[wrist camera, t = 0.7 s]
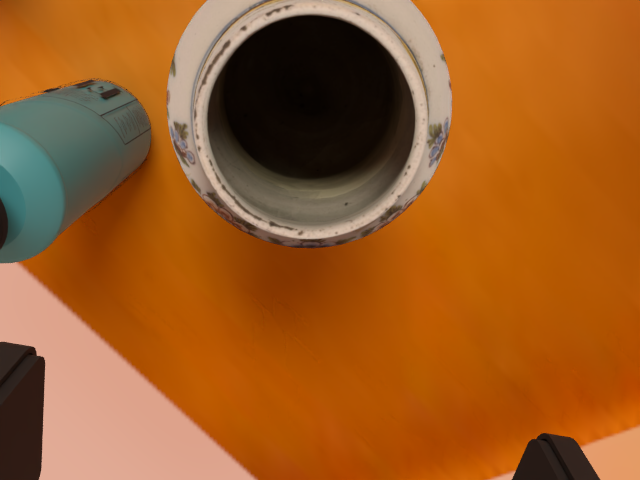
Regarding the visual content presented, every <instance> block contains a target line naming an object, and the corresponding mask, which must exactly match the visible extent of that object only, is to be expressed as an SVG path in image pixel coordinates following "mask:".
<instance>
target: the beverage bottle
mask: <svg viewBox="0 0 640 480" xmlns="http://www.w3.org/2000/svg"><path fill="white" fill-rule="evenodd" d="M92 79H95V78H91V80H89V81H86V82H82V83H79V84H76V85H72V86H69V87H65V86H64V87H65V88H62V87H61V86H60V87H61V88H62V89H60V88H59V87H58V88H56V87H55V89H53V88H52V89H49V90H46V91H44V92H48V93H45V94H41V95H38V96H34V97H31V98H27V99H24V100H20V101H17V102H14V103H10V104H7V105H4V106H1V105H2V104H3V103H2V102H1V103H2V104H1V105H0V106H1V107H0V263H14V262H19V261H23V260H26V259H29V258H31V257H33V256H36V255H37V254H39V253H40V252H42V251H43V250H45V249H46V248H47V247H48V246H49V245H50V244H52V243H53V241H54V240H55V239H56V238H57V236H58V235H60V234H61V233H62V232H63V231H64V230H65V229H67V228H68V227H69V226H70V225H71V224H72V223H73V222H75V221H76V220H77V219H78V218H79V217H80V216H82V215H83V214H84V213H85V212H86V211H87V210H89V209H90V208H91V207H92V206H94V205H95V204H96V203H98V202H99V201H100V200H102V199H103V198H104V197H105V196H106V195H107V194H109V193H110V192H111V191H112V190H113V189H114V188H115V187H116V186H118V185H119V184H120V183H121V182H122V181H123V180H124V179H125V178H126V177H128V176H129V175H130V174H131V173H132V172H133V171H134V170H136V169H137V168H138V167H139V166H140V165H141V164H143V162H144V161H145V160H144V159H145V158H146V156H147V154H148V151H149V148H150V143H151V128H150V125H151V124H150V123H149V121H150V120H148V119H149V117H147V116H148V115H146V114H147V113H145V112H146V111H144V110H145V109H143V106H141V103H140V102H138V101H137V98H136V97H135V96H134V95H133V94H132V93H131V94H132V95H133V96H134V97H135V98H136V99H135V98H134V97H133V96H132V95H131V94H130V93H129V92H127V91H128V90H127V89H126V90H127V91H126V90H124V89H123V88H121V87H122V86H121V87H119V86H117V85H114V84H113V83H114V82H113V83H108V82H107V81H108V80H107V81H106V82H105V81H103V80H104V79H103V80H102V81H101V80H100V81H94V80H92ZM86 80H87V79H86ZM95 80H98V79H95ZM81 81H83V80H81ZM76 82H77V81H76ZM110 82H111V81H110ZM69 84H70V83H69ZM69 84H68V85H69ZM115 84H116V83H115ZM65 85H66V84H65ZM66 86H67V85H66ZM40 93H43V92H41V91H40ZM32 94H34V93H32ZM28 97H30V96H28ZM20 98H21V97H20ZM7 101H8V100H7ZM144 164H145V163H144ZM138 170H139V169H138ZM135 173H136V172H135ZM135 173H134V174H135ZM132 175H133V174H132ZM130 178H131V177H130ZM127 180H128V179H127ZM125 181H126V180H125ZM122 183H124V181H123V182H122ZM122 183H121V184H122ZM121 184H120V185H121ZM120 185H119V186H120ZM120 187H121V186H120ZM117 188H119V187H117ZM115 190H116V189H115ZM112 192H113V191H112ZM112 192H111V193H112ZM111 193H110V194H111ZM110 194H109V195H110ZM101 202H102V201H101ZM101 202H100V203H101ZM100 203H99V204H100ZM99 204H98V205H99ZM95 208H96V207H95ZM90 211H91V210H90ZM88 212H89V211H88ZM86 213H87V212H86Z"/></svg>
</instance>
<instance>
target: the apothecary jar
mask: <svg viewBox="0 0 640 480" xmlns="http://www.w3.org/2000/svg"><path fill="white" fill-rule="evenodd" d="M451 112H452V92H451V83H450V77H449V72H448V68H447V64H446V60H445V57H444V54H443V52H442V49H441V47H440V44H439V42H438V40H437V38H436V36H435V34H434V32H433V30H432V28H431V26H430V25H429V23H428V22H427V20H426V19H425V17H424V16H423V15H422V13H421V12H420V11H419V10H418V8H417V7H416V6H415V5H414V4H413V3H412V2H411V1H410V0H207V1H206V2H205V3H204V4H203V5H202V7H201V8H200V9H199V10H198V11H197V13H196V14H195V15H194V17H193V18H192V20H191V21H190V23H189V24H188V26H187V28H186V29H185V31H184V33H183V35H182V37H181V39H180V41H179V43H178V46H177V48H176V51H175V54H174V57H173V60H172V64H171V68H170V74H169V80H168V86H167V118H168V125H169V131H170V136H171V140H172V143H173V147H174V150H175V152H176V155H177V158H178V160H179V163H180V165H181V167H182V169H183V171H184V173H185V174H186V176H187V178H188V180H189V181H190V183H191V184H192V186H193V187H194V189H195V190H196V192H197V193H198V194H199V196H200V197H201V198H202V199H203V200H204V201H205V203H206V204H207V205H208V206H209V207H210V208H211V209H213V210H214V211H215V212H216V213H217V214H218V215H219V216H221V217H222V218H223V219H225V220H226V221H227V222H229V223H230V224H232V225H233V226H235V227H236V228H238V229H239V230H241V231H243V232H246V233H248V234H250V235H252V236H254V237H257V238H259V239H262V240H265V241H268V242H271V243H275V244H279V245H284V246H289V247H296V248H320V247H329V246H335V245H340V244H344V243H348V242H351V241H354V240H357V239H360V238H362V237H365V236H367V235H369V234H371V233H373V232H375V231H377V230H379V229H381V228H382V227H384V226H386V225H387V224H389V223H390V222H391V221H393V220H394V219H395V218H397V217H398V216H399V215H400V214H401V213H403V212H404V211H405V210H406V209H407V208H408V207H409V206H410V205H411V204H412V203H413V202H414V201H415V200H416V198H417V197H418V196H419V195H420V194H421V192H422V191H423V190H424V188H425V187H426V185H427V184H428V182H429V181H430V179H431V178H432V176H433V174H434V173H435V171H436V169H437V167H438V164H439V162H440V160H441V157H442V155H443V152H444V149H445V146H446V142H447V139H448V134H449V129H450V123H451Z"/></svg>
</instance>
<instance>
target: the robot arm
mask: <svg viewBox="0 0 640 480" xmlns="http://www.w3.org/2000/svg"><path fill="white" fill-rule="evenodd" d="M44 377H45V360H44V358H43V357H41V356H37V355H36V350H35V348H34V347H31V346H25V345H19V344H13V343H7V342H0V480H39V477H40V472H41V462H42V461H41V460H42V434H43V407H44V379H45V378H44ZM512 480H600V479H599V477H598V476H597V474H596V472H595V471H594V469H593V467H592V466H591V464H590V463H589V461H588V459H587V458H586V456H585V455H584V453H583V451H582V450H581V448H580V447H579V445H578V443H577V442H576V441H575V440H574V439H572V438H570V437H565V436H559V435H553V434H547V433H543V434H540V435H539V436H538V437H537V439H532V440H531V441H529V443H528V445H527V447H526V449H525V452H524V454H523V456H522V458H521V461H520V463H519V465H518V467H517V470H516V472H515V474H514V476H513V479H512Z"/></svg>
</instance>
